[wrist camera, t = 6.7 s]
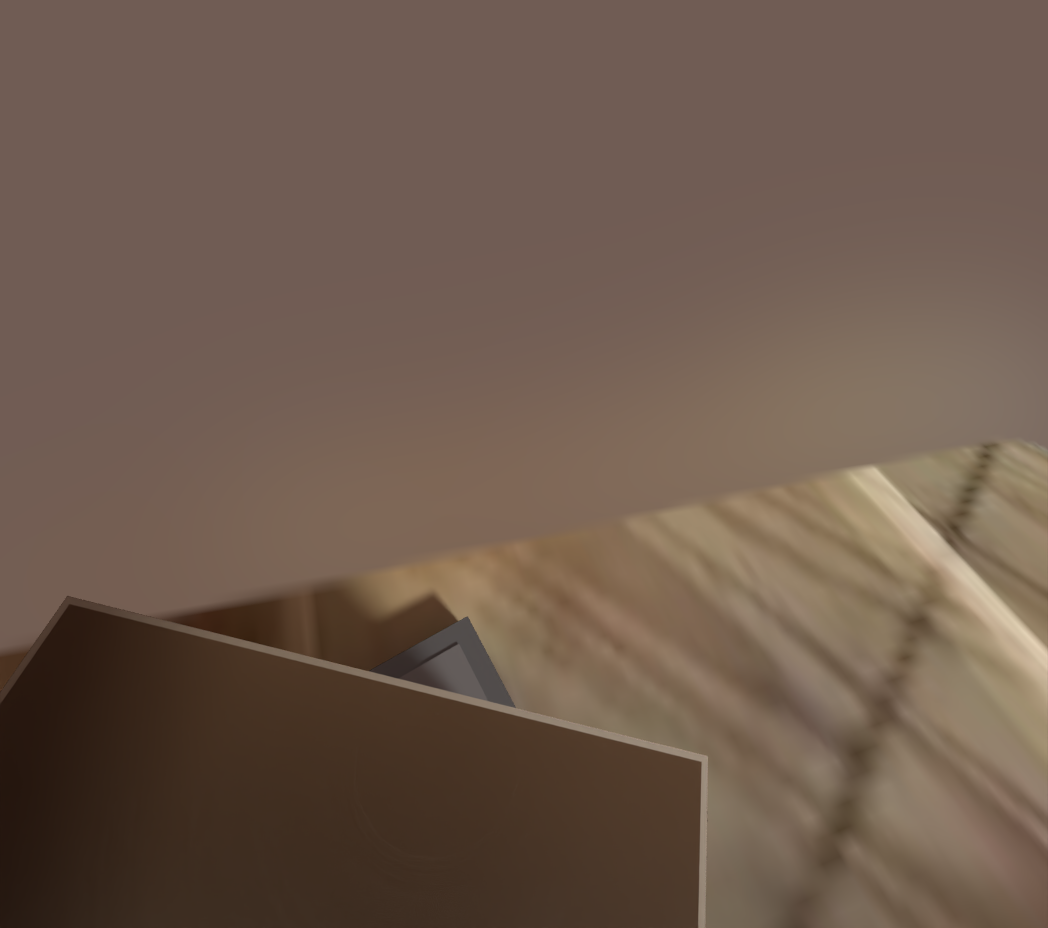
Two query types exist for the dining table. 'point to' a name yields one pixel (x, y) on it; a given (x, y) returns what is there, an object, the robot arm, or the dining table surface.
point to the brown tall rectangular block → (319, 796)
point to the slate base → (450, 665)
